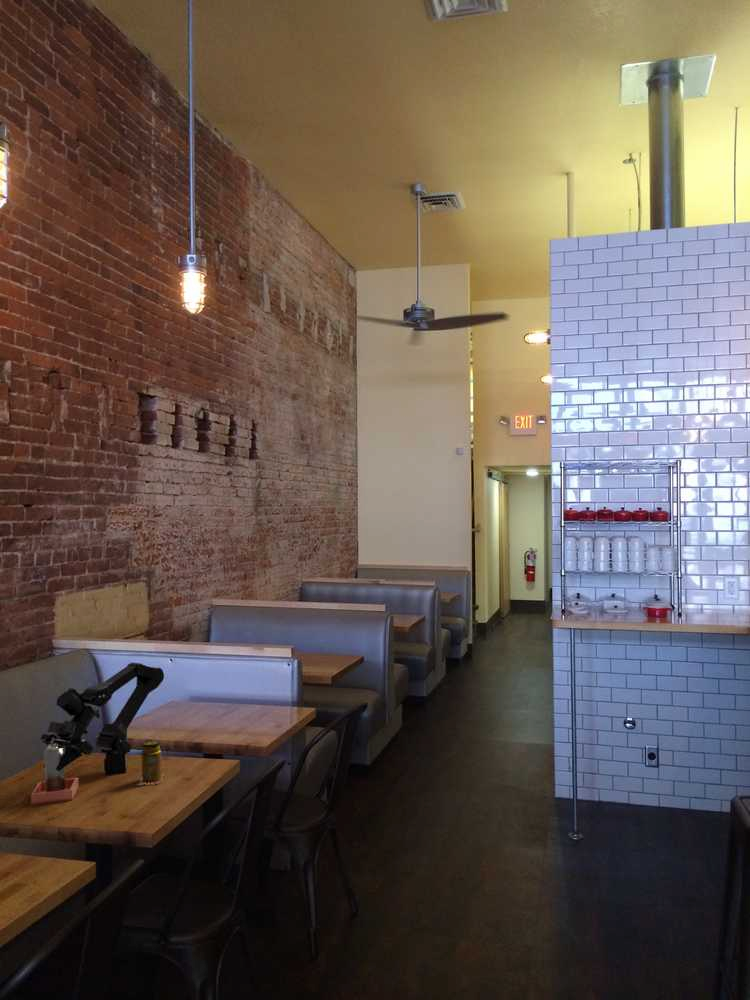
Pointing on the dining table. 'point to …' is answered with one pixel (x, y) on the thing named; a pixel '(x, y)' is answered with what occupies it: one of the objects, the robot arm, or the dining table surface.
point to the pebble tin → (54, 768)
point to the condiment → (151, 762)
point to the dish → (54, 792)
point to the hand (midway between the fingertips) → (51, 769)
